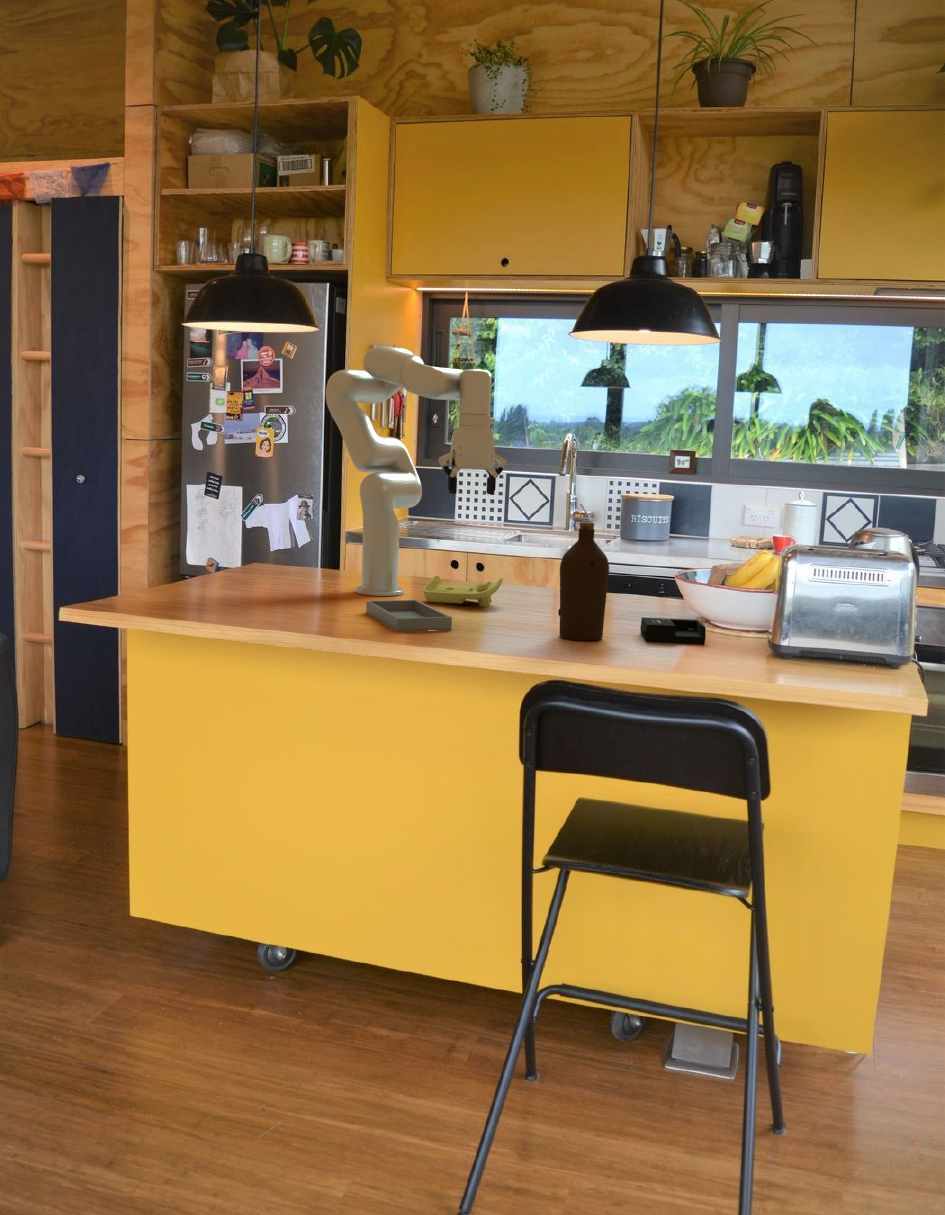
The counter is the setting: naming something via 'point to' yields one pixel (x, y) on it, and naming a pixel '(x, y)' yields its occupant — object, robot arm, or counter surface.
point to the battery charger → (673, 631)
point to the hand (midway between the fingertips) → (471, 493)
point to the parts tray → (408, 615)
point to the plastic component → (460, 592)
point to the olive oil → (583, 588)
